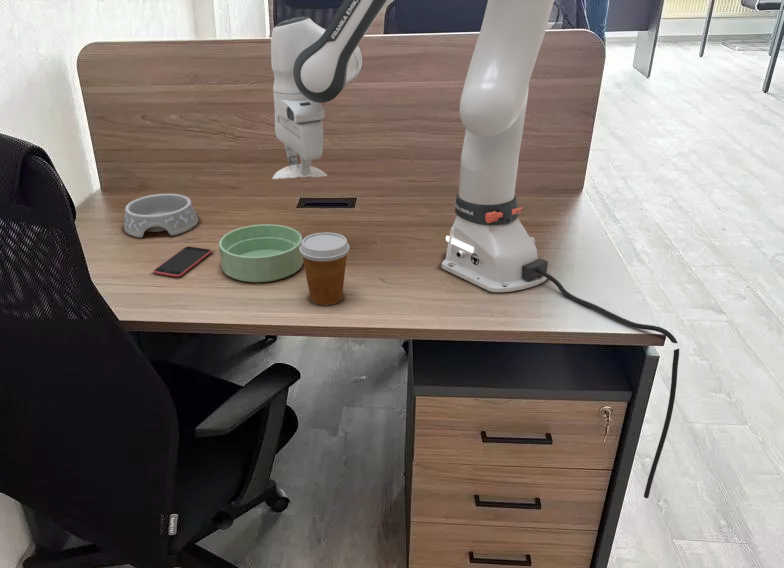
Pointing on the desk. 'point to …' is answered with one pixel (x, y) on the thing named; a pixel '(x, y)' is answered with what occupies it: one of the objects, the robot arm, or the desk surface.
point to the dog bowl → (160, 215)
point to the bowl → (261, 253)
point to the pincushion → (297, 172)
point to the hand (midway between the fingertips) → (298, 169)
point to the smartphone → (182, 261)
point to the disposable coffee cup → (325, 266)
